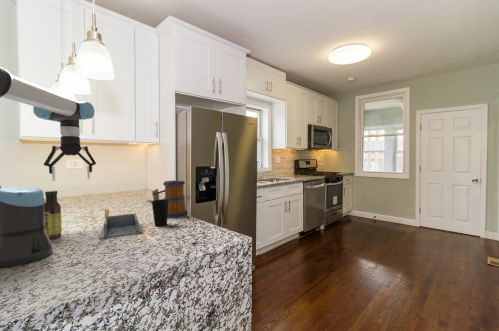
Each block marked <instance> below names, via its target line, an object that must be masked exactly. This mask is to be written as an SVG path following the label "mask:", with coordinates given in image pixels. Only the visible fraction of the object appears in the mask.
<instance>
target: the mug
mask: <svg viewBox="0 0 499 331" xmlns="http://www.w3.org/2000/svg"><path fill="white" fill-rule="evenodd" d="M185 183H186V182H185V180H182V179H181V180H179V179H178V180H175V179H174V180H165V181H164V182H163V183H162V185H163V186H164V189H162V190H161V191H159V190H158V188H155V189H154V190H152V192H151V193H152V194H151V195H152V199H153V200H152V201H155V200H160V194H163V193H164V200H168V215H167V219H169V218H172V219H180V218H179V217H181V218H184V216H185V215H186V216H185V217H187V216H189V214H188V210H187V209H186V203H185V192H184V185H185Z"/></svg>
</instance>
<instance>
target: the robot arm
mask: <svg viewBox="0 0 499 331" xmlns="http://www.w3.org/2000/svg"><path fill="white" fill-rule="evenodd" d="M1 98H5V99H7V100H12V101H15V102H19V103H22V104H24V105H28V106H31V107H32V109H33V110H32V111H33V114H34V116H35V117H37V118H38V119H42V120H45V121H46V120H47V121H52V122H57V123H59V128H60V130H59V131H60V146H58V145H57V146H55V145H52V147H51V152H50V153H49V155H48V156H47V158H46V160H44V163H43V166H46V167H48V172H49V174H51V175H52V176H51V178H52V179H51V180H52V182H55V181H56V167H55V165H56V164H57V163H58V162H59V161H60V160H61V159H62V158H63V157H65V156H78V157H80V159H81V160H83V161H84V162H85V163H86V164H87V166H86V167H87V168H86V169H87V180H90V179H91V178H90V174H91V173H92V172H93V166H94V165H95V166H96V165H97V162H96V161H95V159H94V157H93V156H92V154H91V152H90V151H89V147H88V146H87V145H85V146H82V145H81V137H80V136H81V131H80V130H81V128H80V121H81V120H90V119H92V118H94V116H95V108H94V105H93V104H92V103H91V102H90V101H83V100H82V101H77V100H75V99H72V98H70V97H67V96H65V95H62V94H59V93H57V92H54V91H52V90H50V89H47V88H44V87H42V86H41V85H38V84H35V83H32V82H30V81H28V80H24V79H23V78H19V77H17V76H15V75H13V74H11V72H10V71H8V69H6V68H5V67H4V68H3V67H1V66H0V99H1ZM59 150H60V151H61V153H60V154H59V155H57V157H56V158H54V159H53V157H54V156H55V154H56V152H57V151H59ZM82 150H83V151H84V152H85V153H86V155H87V157H88V158H89V160H90V161H89V160H88V159H87V158H86V157H85V156H84V155H83V154H81V151H82ZM52 160H53V161H52ZM45 202H46V198H45V192H44V191H43V190H42V189H41V188H38V187H30V186H6V187H1V185H0V268H7V267H8V268H9V267H14V266H20V265H24V264H29V263H32V262H36V261H39V260H41V259H44V258H47V257H49V256H50V255H51V254H53V252H54V250H53V247H54V246H53V243H52V241H51V240H50V239H51V238H50V239H49V237H48V235H47V233H46V231H45Z"/></svg>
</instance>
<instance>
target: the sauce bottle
mask: <svg viewBox="0 0 499 331" xmlns="http://www.w3.org/2000/svg"><path fill="white" fill-rule="evenodd" d="M44 196H45V231H46V233H47V235H48V237H49V238H50V239H56V238H59V237H61V235H62V232H63V230H62V210H61V208H62V206H61V204H60V203H59V201H58V190H55V189H53V190H46V191H44Z"/></svg>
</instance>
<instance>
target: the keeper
mask: <svg viewBox="0 0 499 331" xmlns="http://www.w3.org/2000/svg"><path fill="white" fill-rule="evenodd" d="M109 211H110V210H109V209H107V208H106V209H104V222H103V227H102V228H101V232H100V236H99V240H105V239H110V238H117V237H124V236H129V235H130V236H131V235H137V234H143V229H142V226H141V222H139V218H138V216H137V213H134V212H133V213H128V214H127V213H126V214H119V215H109V214H110V212H109ZM104 238H105V239H104Z"/></svg>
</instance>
